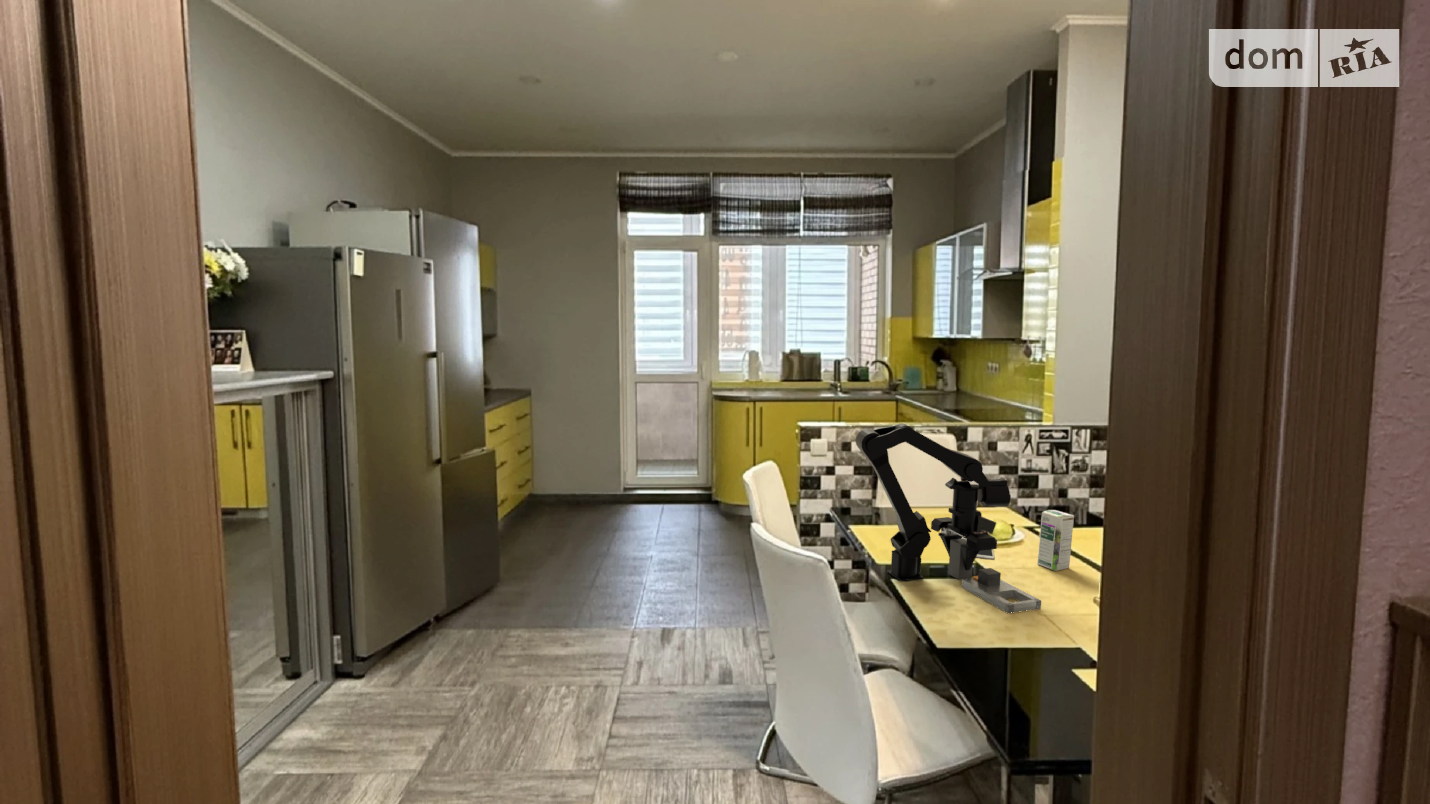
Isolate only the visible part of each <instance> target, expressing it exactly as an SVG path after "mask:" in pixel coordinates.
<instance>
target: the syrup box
mask: <svg viewBox="0 0 1430 804" xmlns="http://www.w3.org/2000/svg"><path fill="white" fill-rule="evenodd" d="M1074 519H1075V514H1070V513H1067V512H1063V511H1060V510H1058V509H1057V510H1056V509H1048V510H1044V511H1042V512H1041V520H1040V530H1039V531H1040V532H1039V543H1038V544H1039V545H1038V555H1037V565H1038V566H1042V567H1045V568H1046V569H1049V570H1051V571H1054V572H1057V571H1062V570H1066V569H1067V570H1068V569H1069V568H1070V562H1071V552H1072V542H1073V531H1074V530H1073V529H1074Z"/></svg>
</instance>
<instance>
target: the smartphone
mask: <svg viewBox="0 0 1430 804" xmlns="http://www.w3.org/2000/svg"><path fill="white" fill-rule="evenodd" d="M965 539H966V538H965ZM966 540H967V539H966ZM976 558H977V559H985V560H992V561H993V560H994V559H995V555H994V549H991V550H982V551H979V553H978V554H977V556H976ZM976 558H975V559H976Z"/></svg>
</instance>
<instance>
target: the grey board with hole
mask: <svg viewBox="0 0 1430 804" xmlns="http://www.w3.org/2000/svg"><path fill="white" fill-rule="evenodd" d="M977 572H978V573H977V575H974V576H973V575H972V578H969V579H961V588H962V589H964V590H966V591H968V592H970V593H971V594H972V595H975V596H977V597H978V596H979V597H978V598H980V599H981V598H982V599H981V600H984V602H987V603H989V604H990V603H991V604H990V605H992V604H993V605H992V606H993V607H995V608H997V607H998V608H997V609H999V610H1001V611H1002V610H1004V611H1005V612H1004V611H1003V612H1004V613H1006V612H1007V613H1006V614H1008V613H1010V614H1014V613H1013V612H1017V613H1020V612H1019V611H1024V612H1027V611H1026V610H1031V611H1037V610H1036V609H1038V610H1041V608H1042V600H1041V599H1039V598H1037V597H1035V596H1033V595H1032V594H1029V593H1028V592H1026V591H1024V590H1022V589H1020V588H1018V587H1016V586H1014V585H1012V584H1010V583H1008V582H1007V581H1004V580H1002V579H1001V576H1002V575H1001V574H1002V573H1001V572H999V571H998V570H996V569H994V568H991V567H989V568H987V567H986V568H980V569H978V571H977ZM1009 598H1010V599H1014V598H1015V599H1014V600H1016V601H1014V602H1011V601H1009V600H1010V599H1009ZM1008 599H1009V600H1008ZM1018 600H1019V601H1018ZM1011 612H1012V613H1011Z"/></svg>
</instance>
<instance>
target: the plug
mask: <svg viewBox="0 0 1430 804" xmlns="http://www.w3.org/2000/svg"><path fill="white" fill-rule="evenodd" d="M962 544H967V540H966V538H963V537H962V539H953V540H951V541H950V557H949V556H948V558H949V559H948V560H949V561H948V572H947V573H948V575H949V576H951V577H953V578H955V579H957V580H962V579H969V578H973V569H974V568H973V567H974V565H973V564H974V563H973V564H972V566H971V569H970V570H965V566H964V561H963V555H962V550H961V545H962Z"/></svg>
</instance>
